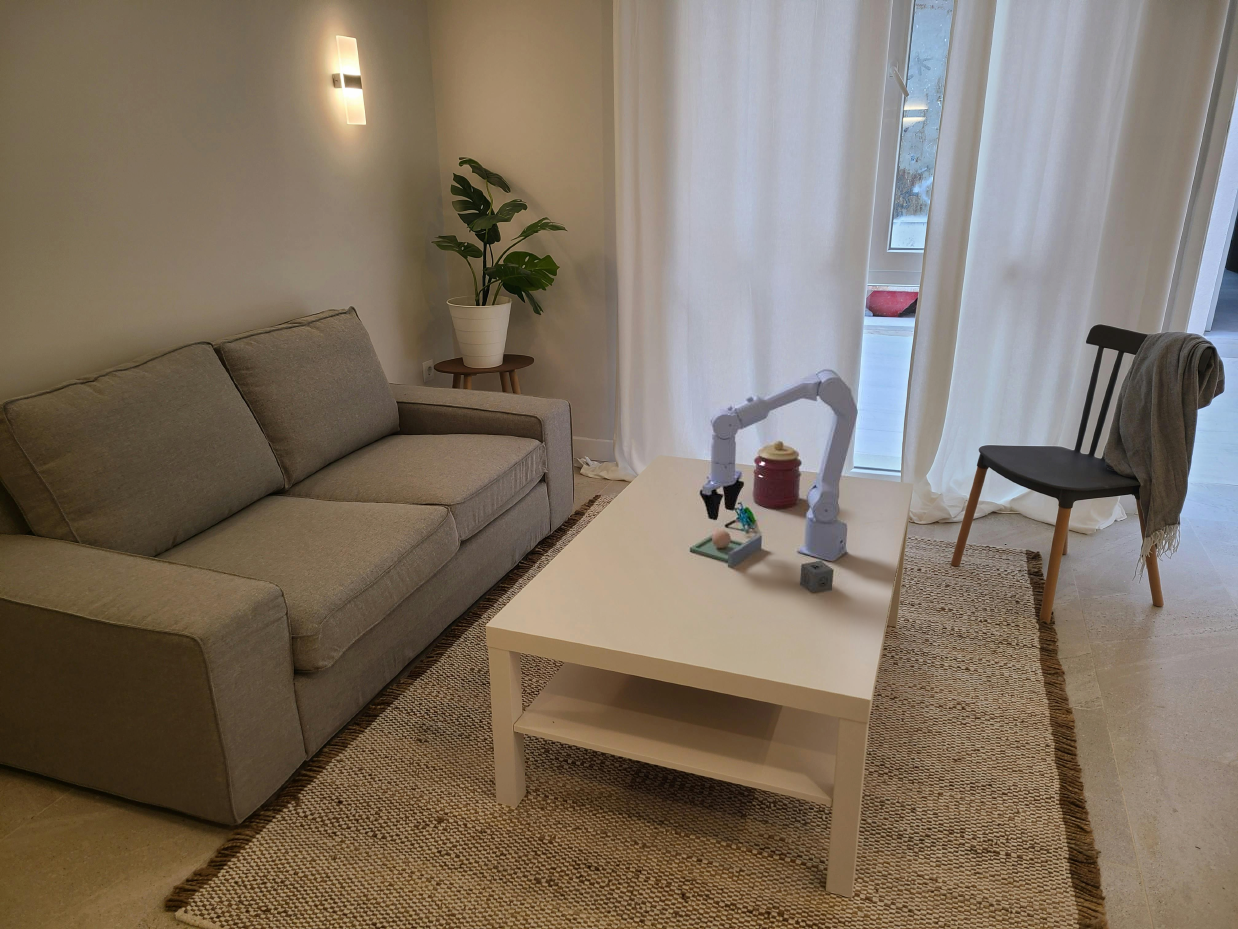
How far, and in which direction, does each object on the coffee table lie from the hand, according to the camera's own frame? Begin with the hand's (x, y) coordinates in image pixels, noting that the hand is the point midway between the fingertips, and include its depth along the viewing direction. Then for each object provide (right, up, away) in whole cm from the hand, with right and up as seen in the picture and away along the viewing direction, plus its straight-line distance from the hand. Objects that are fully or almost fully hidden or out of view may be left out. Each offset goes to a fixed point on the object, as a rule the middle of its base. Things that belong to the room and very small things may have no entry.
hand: (721, 514), depth 207 cm
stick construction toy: (+7, -4, +18) cm, 20 cm away
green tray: (0, -9, +3) cm, 9 cm away
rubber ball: (0, -6, +2) cm, 7 cm away
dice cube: (+19, -15, -16) cm, 29 cm away
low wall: (+5, -10, -1) cm, 12 cm away
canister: (+19, +2, +34) cm, 40 cm away
